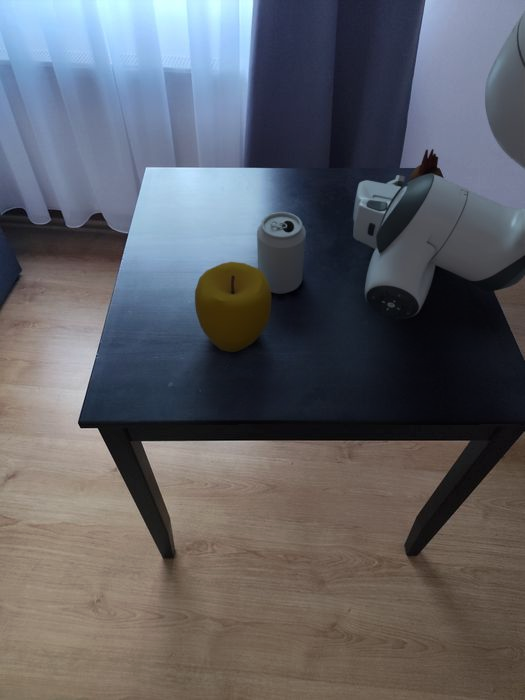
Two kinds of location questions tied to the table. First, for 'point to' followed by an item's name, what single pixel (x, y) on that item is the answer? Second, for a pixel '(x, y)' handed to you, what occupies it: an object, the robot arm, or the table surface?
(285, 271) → the can
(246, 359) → the table surface
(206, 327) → the apple
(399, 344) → the table surface
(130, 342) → the table surface
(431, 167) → the wooden figurine
